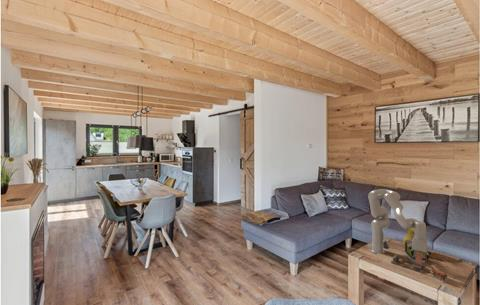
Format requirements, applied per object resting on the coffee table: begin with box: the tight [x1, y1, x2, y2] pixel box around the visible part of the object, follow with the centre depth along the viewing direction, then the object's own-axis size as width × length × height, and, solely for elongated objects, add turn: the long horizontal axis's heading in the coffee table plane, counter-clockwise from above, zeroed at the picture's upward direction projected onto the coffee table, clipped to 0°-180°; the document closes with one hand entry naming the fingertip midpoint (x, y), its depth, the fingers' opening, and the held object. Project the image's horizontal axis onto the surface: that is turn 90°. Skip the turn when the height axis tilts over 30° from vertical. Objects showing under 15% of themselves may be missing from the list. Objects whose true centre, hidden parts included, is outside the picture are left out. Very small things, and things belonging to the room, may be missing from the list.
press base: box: [390, 253, 426, 274], centre depth 202 cm, size 22×12×6 cm, turn 43°
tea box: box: [404, 240, 426, 264], centre depth 214 cm, size 15×10×15 cm
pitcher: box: [402, 228, 414, 248], centre depth 229 cm, size 17×19×25 cm
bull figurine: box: [429, 264, 448, 283], centre depth 186 cm, size 4×13×8 cm, turn 7°
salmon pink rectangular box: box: [413, 252, 424, 270], centre depth 197 cm, size 5×8×13 cm, turn 133°
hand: (419, 257), depth 196 cm, fingers open, 9 cm apart
